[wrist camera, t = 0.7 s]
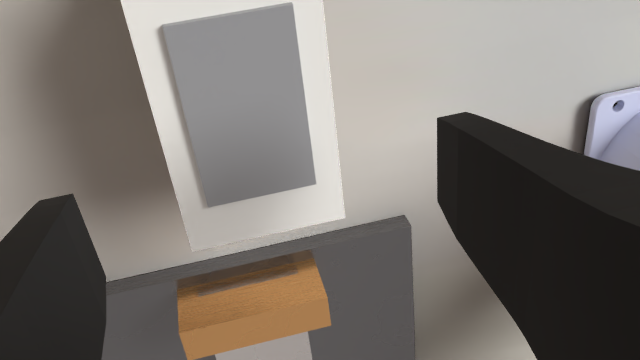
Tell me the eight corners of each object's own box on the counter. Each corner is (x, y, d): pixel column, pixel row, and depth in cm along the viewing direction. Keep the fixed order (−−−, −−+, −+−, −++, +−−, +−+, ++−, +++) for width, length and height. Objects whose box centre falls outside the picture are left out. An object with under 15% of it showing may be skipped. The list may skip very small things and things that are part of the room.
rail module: (272, -105, 19) (317, -69, 13) (303, 127, 23) (346, 221, 18) (122, -83, 18) (108, -37, 13) (183, 151, 22) (192, 256, 17)
